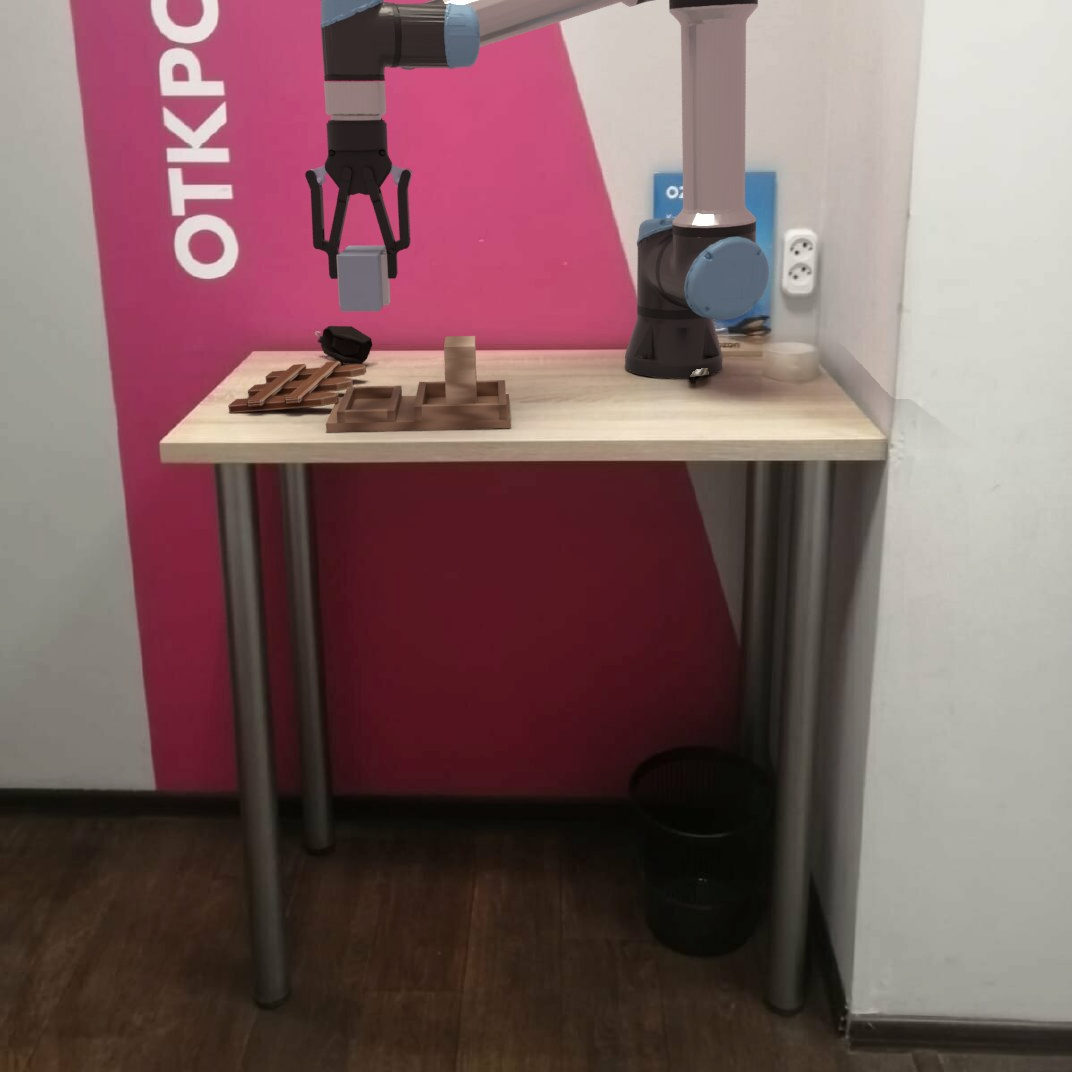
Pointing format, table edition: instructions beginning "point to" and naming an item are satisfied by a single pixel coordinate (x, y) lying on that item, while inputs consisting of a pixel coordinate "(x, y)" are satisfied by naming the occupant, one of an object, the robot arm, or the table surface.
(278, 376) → the decorative fence
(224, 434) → the table surface
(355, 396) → the tray
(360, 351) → the toy
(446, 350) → the wooden block
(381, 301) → the grey rectangular block
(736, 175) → the robot arm
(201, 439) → the table surface
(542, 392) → the table surface
